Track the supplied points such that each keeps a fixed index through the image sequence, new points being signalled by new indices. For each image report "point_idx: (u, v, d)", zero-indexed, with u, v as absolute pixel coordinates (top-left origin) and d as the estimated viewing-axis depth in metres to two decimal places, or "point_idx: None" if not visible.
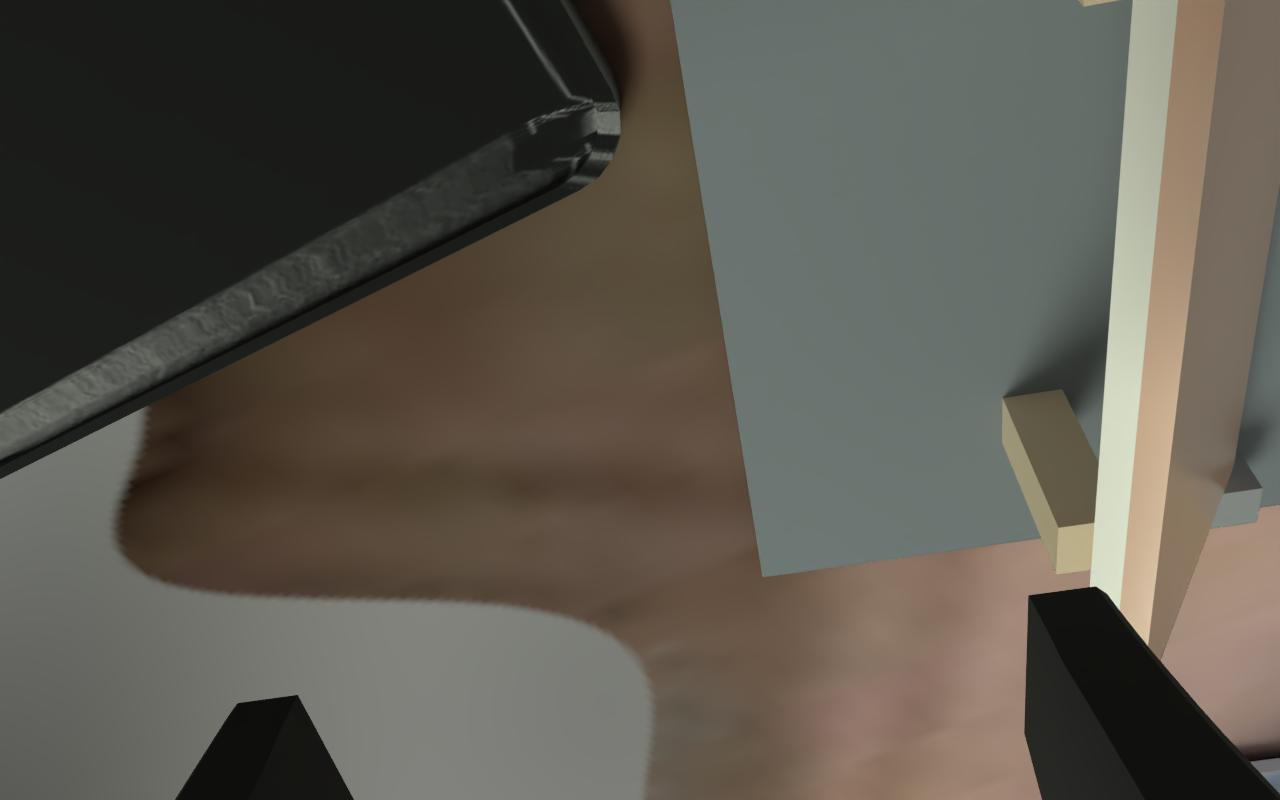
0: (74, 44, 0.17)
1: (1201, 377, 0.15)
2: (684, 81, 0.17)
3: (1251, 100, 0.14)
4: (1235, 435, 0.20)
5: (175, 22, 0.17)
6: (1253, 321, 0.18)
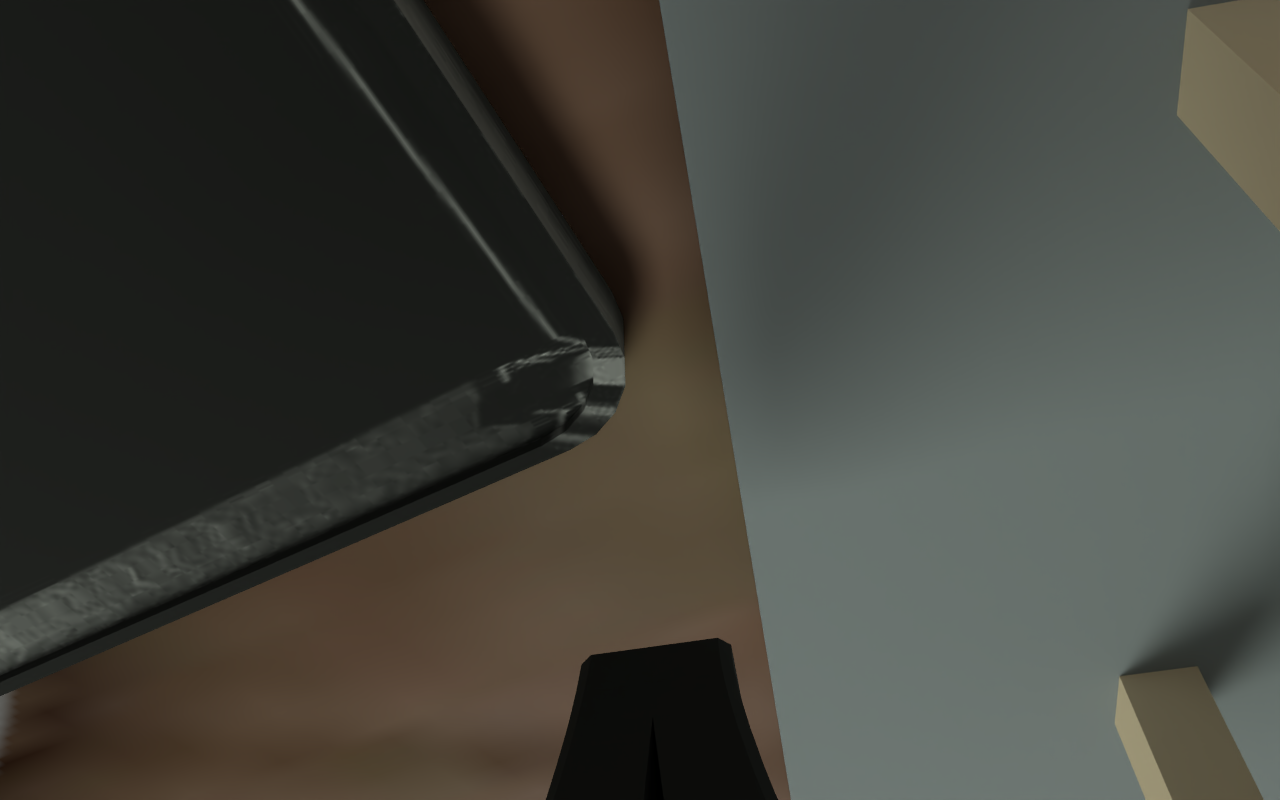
0: None
1: None
2: (713, 319, 0.12)
3: None
4: None
5: None
6: None
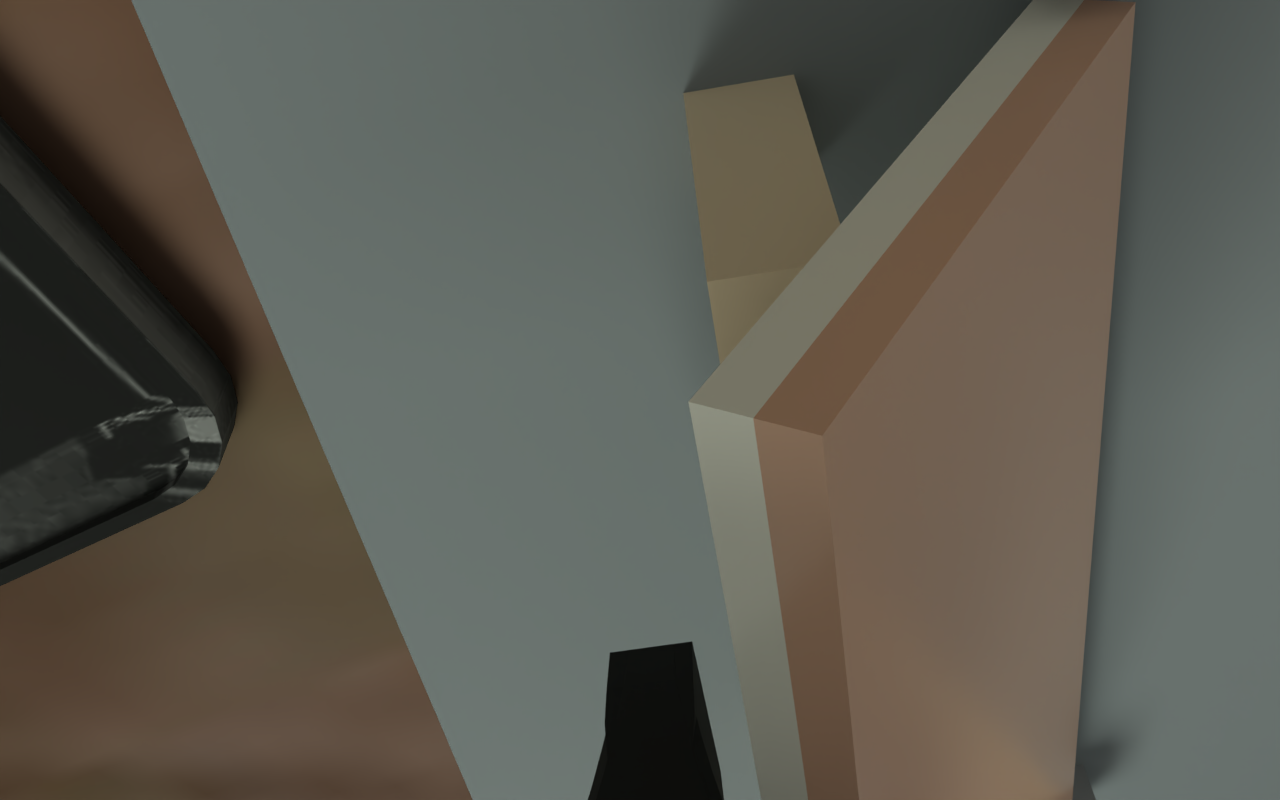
0: None
1: None
2: (294, 379, 0.13)
3: (979, 528, 0.09)
4: (1065, 784, 0.16)
5: None
6: (1073, 670, 0.14)
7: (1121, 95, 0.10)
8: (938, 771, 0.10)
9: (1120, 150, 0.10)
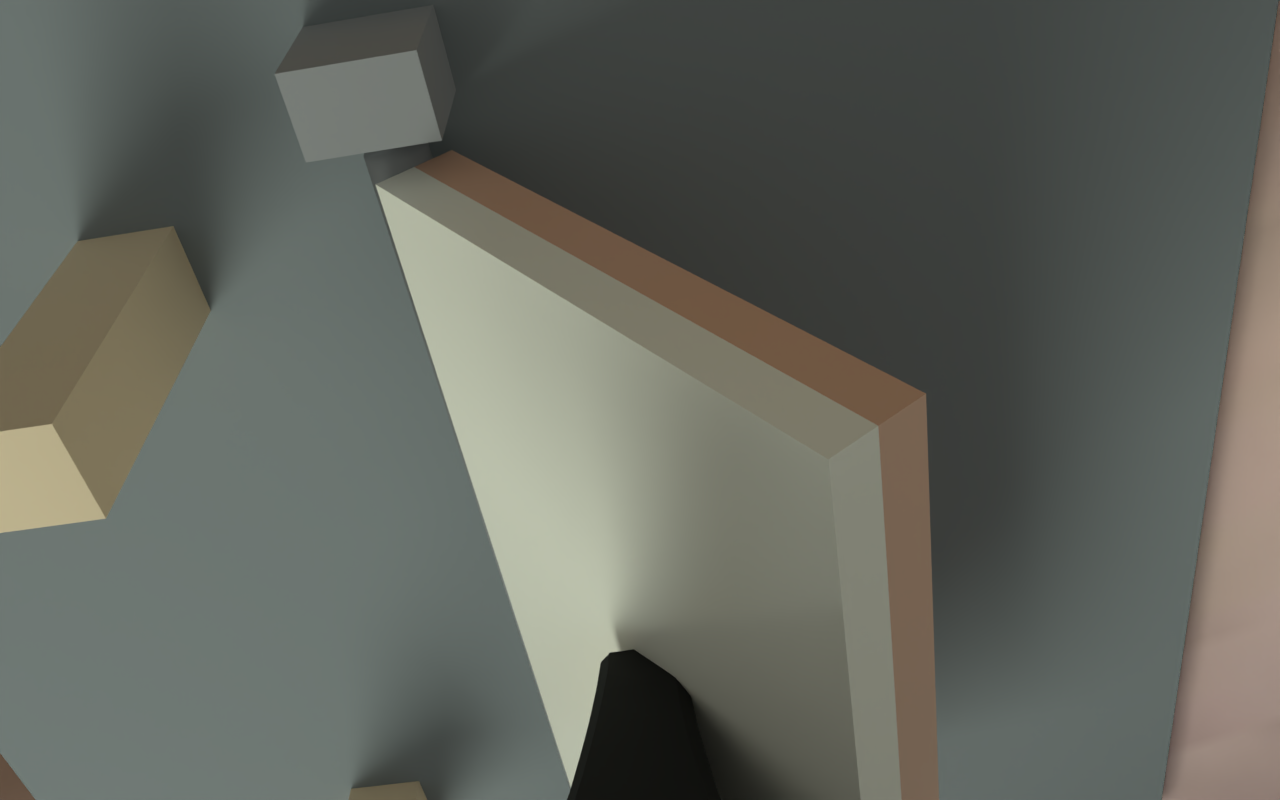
0: None
1: None
2: None
3: None
4: None
5: None
6: None
7: None
8: None
9: None
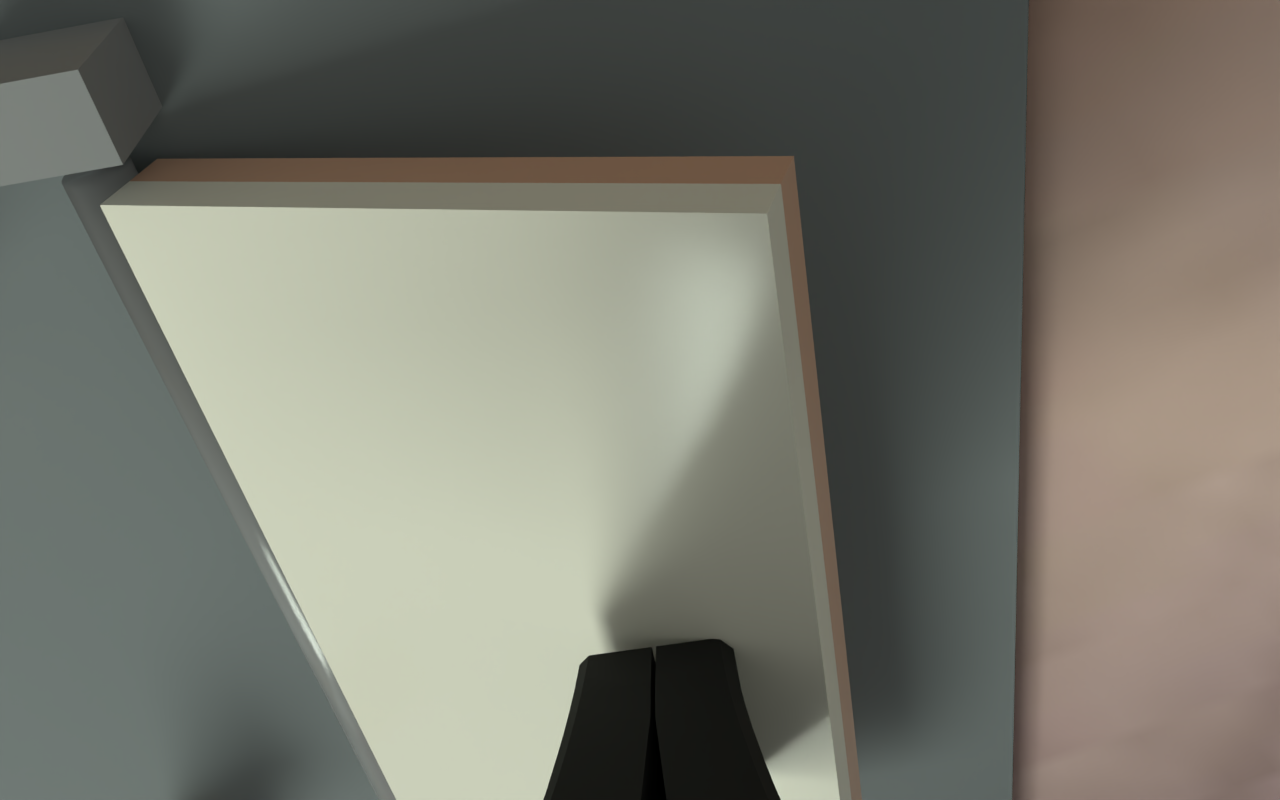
0: None
1: None
2: None
3: None
4: None
5: None
6: None
7: None
8: None
9: None
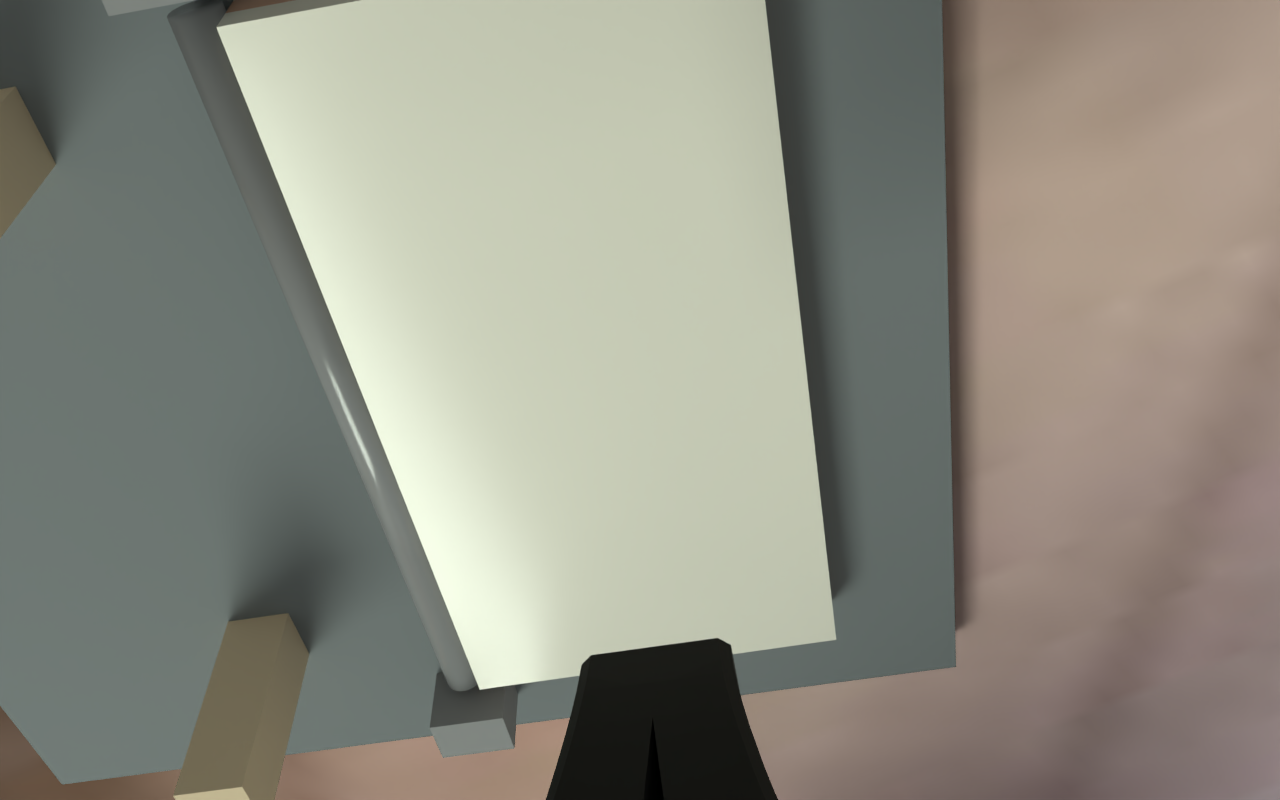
0: None
1: None
2: None
3: None
4: None
5: None
6: None
7: None
8: None
9: None
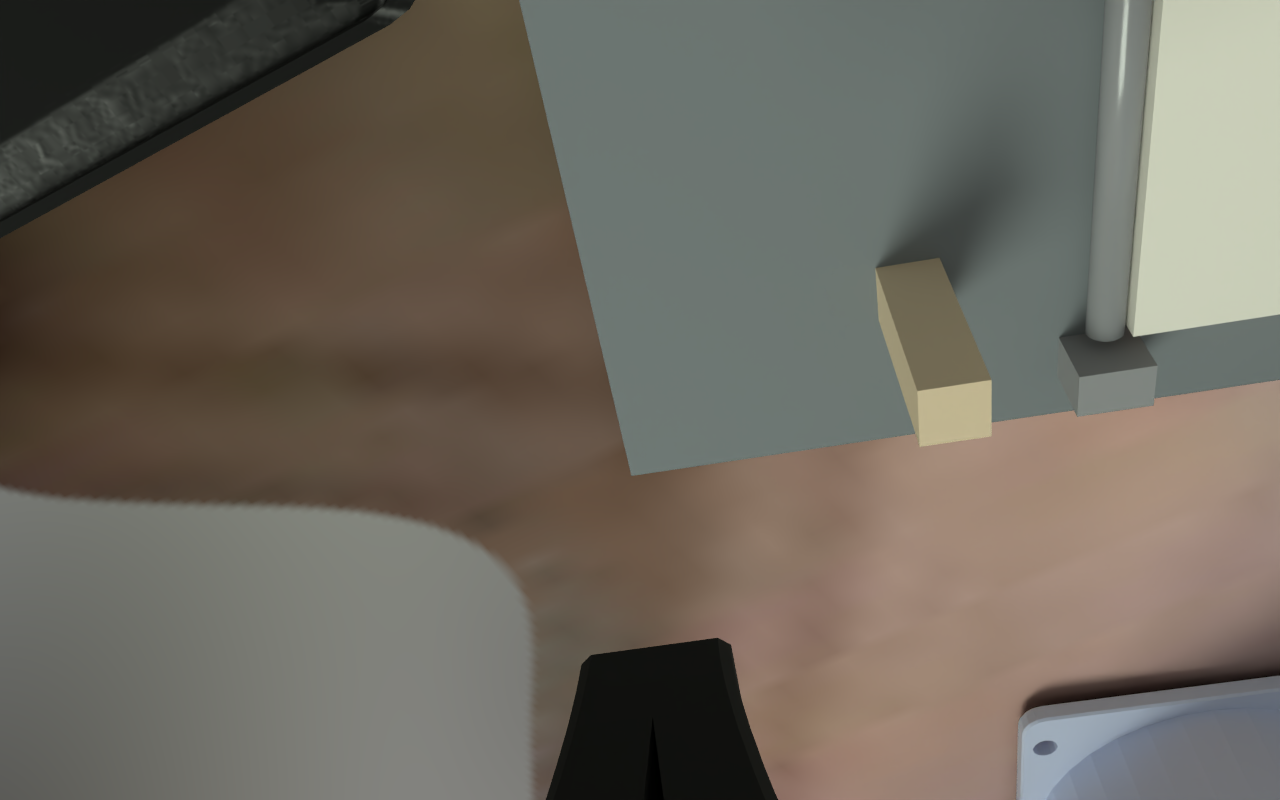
0: None
1: None
2: None
3: None
4: None
5: None
6: None
7: None
8: None
9: None
